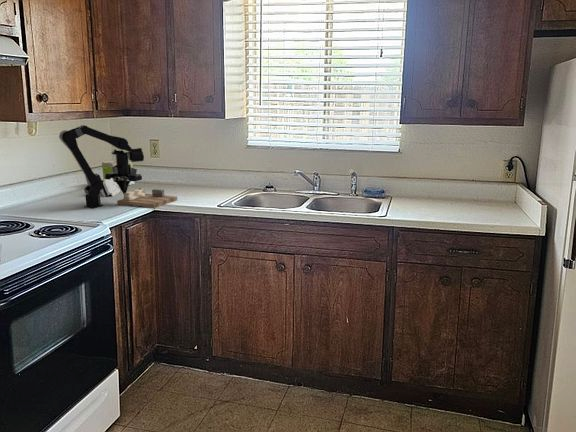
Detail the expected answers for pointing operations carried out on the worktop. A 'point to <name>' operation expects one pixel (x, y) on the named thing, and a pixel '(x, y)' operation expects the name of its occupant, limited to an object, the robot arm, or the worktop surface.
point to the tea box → (113, 169)
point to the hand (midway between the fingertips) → (124, 193)
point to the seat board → (150, 199)
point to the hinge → (109, 187)
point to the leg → (134, 194)
